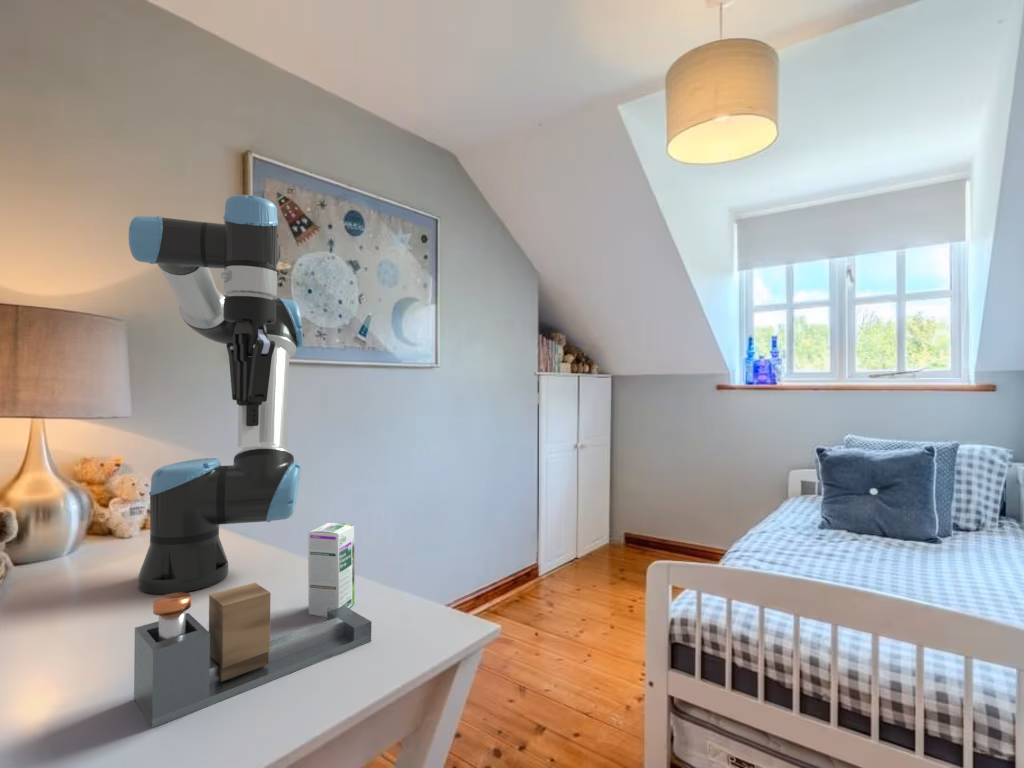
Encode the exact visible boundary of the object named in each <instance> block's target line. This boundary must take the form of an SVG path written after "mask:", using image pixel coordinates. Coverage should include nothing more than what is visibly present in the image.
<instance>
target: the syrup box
mask: <svg viewBox="0 0 1024 768" xmlns="http://www.w3.org/2000/svg"><path fill="white" fill-rule="evenodd" d="M307 535H308V538H307V539H308V543H307V545H308V549H307V550H308V551H307V552H308V553H307V554H308V558H307V559H308V567H307V568H308V569H307V571H308V614H309V615H311V616H317V617H325V618H327V612H328V611H331V610H334V609H337V608H340V607H343V606H345V607H347V608H349V609H351V607H352V606H354V605H355V524H350V523H341V522H329V523H328V522H326V523H324V524H323V525H321V526H319V527H317V528H315V529H313V530H311V531H309V532H308V533H307Z"/></svg>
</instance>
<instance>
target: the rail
mask: <svg viewBox="0 0 1024 768" xmlns="http://www.w3.org/2000/svg"><path fill="white" fill-rule="evenodd" d="M326 618H327V619H326V621H322V622H320V623H317V624H314V625H312V626H309V627H305V628H302V629H299V630H296V631H294V632H291V633H288V634H284V635H282V636H279V637H276V638H273V639H270V651H269V658H268V664H267V665H265V666H262V667H259V668H257V669H254V670H251V671H249V672H246V673H243V674H241V675H238V676H235V677H233V678H230V679H227V680H225V681H222V682H221V681H220V680H219V664H218V663H217V662H216V661H215V660H212V661H210V633H209V630H207V629H206V628H205V627H204V626H203V625H202V624H201V623H200V621H198V620H197V619H196V618H195V617H193V615H191V614H190V613H189V612H188V613H187V612H185V634H184V635H181V636H177V637H174V638H171V639H167V640H164V641H161V642H158V640H159V620H158V621H154V622H150V623H147V624H146V623H145V624H143V625H140V626H137V627H136V626H135V627H134V655H133V656H134V658H133V659H134V662H133V663H134V668H133V669H134V670H133V671H134V674H133V676H134V677H133V679H134V680H133V684H134V685H133V699H134V702H135V701H136V702H135V703H136V704H138V705H137V706H138V708H139V710H140V709H141V710H140V711H141V713H142V712H143V713H142V714H143V716H144V717H146V718H145V719H146V720H147V722H148V724H149V726H150V727H151V729H154V728H156V727H159V726H161V725H164V724H166V723H170V722H171V721H173V720H174V721H175V720H177V719H179V718H182V717H185V716H187V715H189V714H192V713H195V712H197V711H199V710H202V709H204V708H207V707H209V706H212V705H214V704H216V703H219V702H222V701H224V700H226V699H230V698H231V697H234V696H237V695H238V694H239V695H240V694H242V693H244V692H247V691H249V690H252V689H254V688H257V687H259V686H262V685H264V684H266V683H270V682H272V681H275V680H277V679H280V678H281V677H284V676H286V675H287V676H288V675H290V674H292V673H294V672H297V671H299V670H302V669H304V668H307V667H309V666H312V665H314V664H317V663H319V662H322V661H324V660H327V659H329V658H331V657H335V656H337V655H340V654H341V653H345V652H347V651H349V650H351V649H354V648H357V647H359V646H362V645H364V644H366V643H369V642H371V641H372V621H371V620H370V619H368V618H366V617H365V616H362V615H361V614H359V613H357V612H355V611H354V610H352V609H351V608H347V607H345V606H343V607H340V608H337V609H334V610H331V611H328V612H327V617H326Z"/></svg>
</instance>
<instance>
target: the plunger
mask: <svg viewBox="0 0 1024 768" xmlns="http://www.w3.org/2000/svg"><path fill="white" fill-rule="evenodd" d="M191 607H192V595H191V593H188V592H181V593H171V594H162V595H161V596H159V597H156V598H155V599H154V600H153V602H152V613H153V615H155V616H158V621H159V640H158V642H161V641H164V640H167V639H171V638H174V637H177V636H181V635H184V634H185V614H186V611H187V610H189V609H190V608H191Z"/></svg>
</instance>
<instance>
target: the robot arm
mask: <svg viewBox="0 0 1024 768" xmlns="http://www.w3.org/2000/svg"><path fill="white" fill-rule="evenodd" d="M223 220H224V223H217V222H206V221H196V220H188V219H178V218H170V217H163V216H160V215H158V216H146V215H137V216H134V217H133V218H132V219H131V221H130V222H129V226H128V246H129V251H130V253H131V256H132V257H133V258H134V260H135V261H137V262H140V263H146V264H147V263H148V264H150V265H156V264H157V265H158V268H159V269H160V271H161V272H162V275H163V276H164V278H165V280H166V281H167V284H168V285H169V286H170V288H171V291H173V294H174V295H175V297H176V299H177V301H178V302H179V303H178V311H179V314H180V316H181V318H182V319H183V321H184V322H185V324H186V325H187V326H188V327H189V328H190V329H192V330H193V331H194V332H196V333H198V334H199V335H201V336H202V337H204V338H207V339H209V340H210V341H213V342H215V343H220V344H223V345H226V350H227V353H228V355H227V356H228V361H229V362H228V363H229V374H230V376H229V377H230V385H231V386H230V387H231V398H232V400H233V401H236V405H238V409H237V410H238V411H237V412H238V413H237V418H238V419H237V421H238V422H237V447H238V448H242V449H241V450H239V451H238V452H236V454H235V455H234V456H233V464H231V465H230V464H229V465H222V464H221V463H222V462H221V461H220V459H219V458H217V457H211V458H209V457H207V458H204V457H203V458H198V459H191V460H186V461H180V462H175V463H170V464H167V465H163V466H161V467H159V468H158V469H156V470H154V472H153V473H152V475H151V478H150V479H151V480H150V481H151V482H150V491H149V492H148V493H149V494H148V495H149V497H150V498H149V500H150V502H149V503H150V504H149V509H150V511H149V514H150V515H149V524H150V525H149V538H150V539H149V546H148V549H147V552H146V555H145V558H144V560H143V562H142V565H141V568H140V570H139V573H138V583H137V584H138V589H139V590H140V591H141V592H144V593H147V594H152V595H153V594H154V595H167V594H171V593H181V592H182V593H188V592H193V591H196V590H197V591H198V590H201V589H204V588H208V587H211V586H213V585H216V584H217V583H220V582H222V581H224V579H226V578H227V576H228V575H229V560H228V558H227V556H226V553H225V552H226V551H225V549H224V547H223V544H222V541H221V539H220V525H231V524H246V523H261V522H266V523H271V522H273V521H274V522H275V521H281V520H283V521H284V520H287V519H290V518H291V517H292V516H293V515H294V512H295V511H296V510H295V509H296V504H297V500H298V499H297V498H298V493H299V488H300V477H301V469H302V467H301V466H302V465H301V464H300V463H299V462H297V461H294V460H295V455H294V454H293V452H291V451H289V449H288V419H289V418H288V417H289V416H288V413H289V410H288V409H289V380H290V379H289V378H290V359H291V358H293V357H294V356H295V355H296V353H297V349H299V348H302V347H303V345H304V336H303V327H302V325H303V324H302V316H301V311H300V306H299V304H298V302H297V301H295V300H294V299H287V298H281V297H277V296H278V272H277V266H278V264H279V262H280V259H281V247H280V244H279V239H278V238H279V237H278V225H279V220H278V209H277V206H276V205H275V203H274V202H272V201H271V200H269V199H266V198H263V197H260V196H256V195H255V196H254V195H248V194H235V195H231V196H229V197H228V198H227V199H226V201H225V206H224V215H223ZM211 269H219V270H221V269H223V272H221V273H220V277H221V278H222V279H223V292H224V294H222V292H220V291H219V290H218V287H217V285H216V283H215V280H214V278H213V277H214V276H213V275H212V271H211Z"/></svg>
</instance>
